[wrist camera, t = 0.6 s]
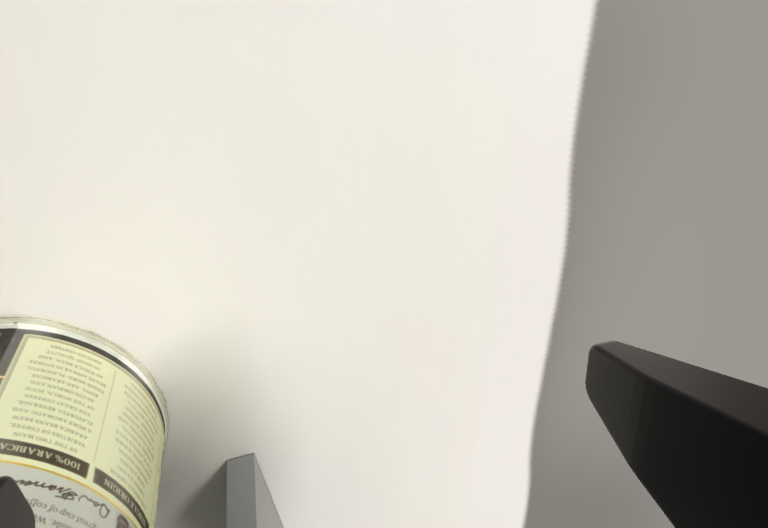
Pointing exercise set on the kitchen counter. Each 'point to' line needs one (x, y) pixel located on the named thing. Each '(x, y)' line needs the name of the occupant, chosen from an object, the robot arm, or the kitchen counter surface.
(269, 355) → the kitchen counter surface
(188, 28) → the kitchen counter surface
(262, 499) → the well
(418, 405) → the kitchen counter surface
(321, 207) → the kitchen counter surface
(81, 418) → the coffee can
